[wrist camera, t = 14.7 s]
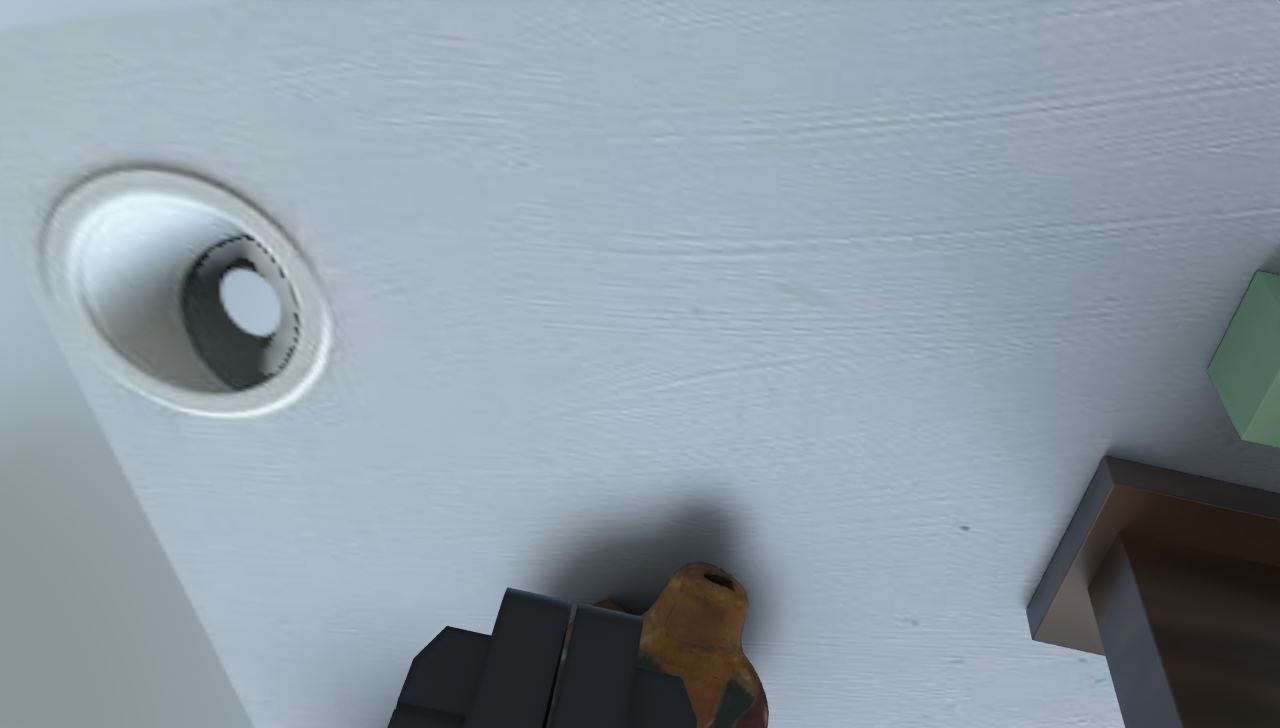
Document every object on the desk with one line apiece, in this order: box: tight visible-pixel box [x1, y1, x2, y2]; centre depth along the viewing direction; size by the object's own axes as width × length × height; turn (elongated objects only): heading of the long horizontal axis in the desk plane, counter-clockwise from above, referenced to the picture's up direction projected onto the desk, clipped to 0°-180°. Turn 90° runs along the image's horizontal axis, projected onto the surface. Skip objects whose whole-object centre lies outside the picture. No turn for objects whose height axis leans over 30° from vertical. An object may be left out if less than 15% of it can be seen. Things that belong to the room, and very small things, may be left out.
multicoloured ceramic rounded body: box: [547, 562, 769, 728], centre depth 48 cm, size 10×15×8 cm, turn 163°
